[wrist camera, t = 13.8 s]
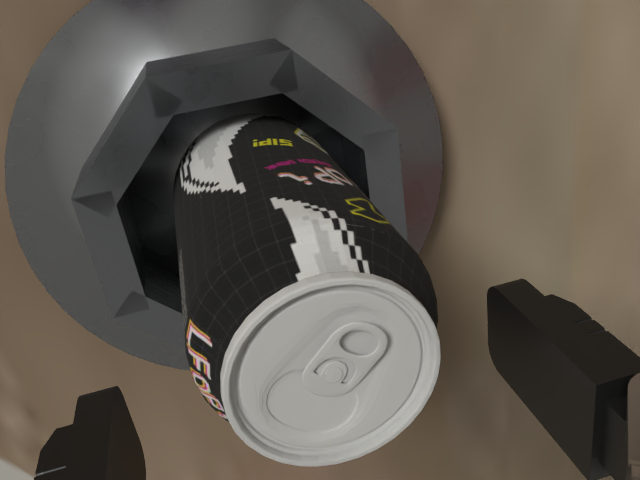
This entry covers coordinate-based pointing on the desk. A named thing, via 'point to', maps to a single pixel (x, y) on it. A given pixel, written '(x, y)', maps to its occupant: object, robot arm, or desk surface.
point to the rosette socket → (185, 126)
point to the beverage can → (298, 296)
